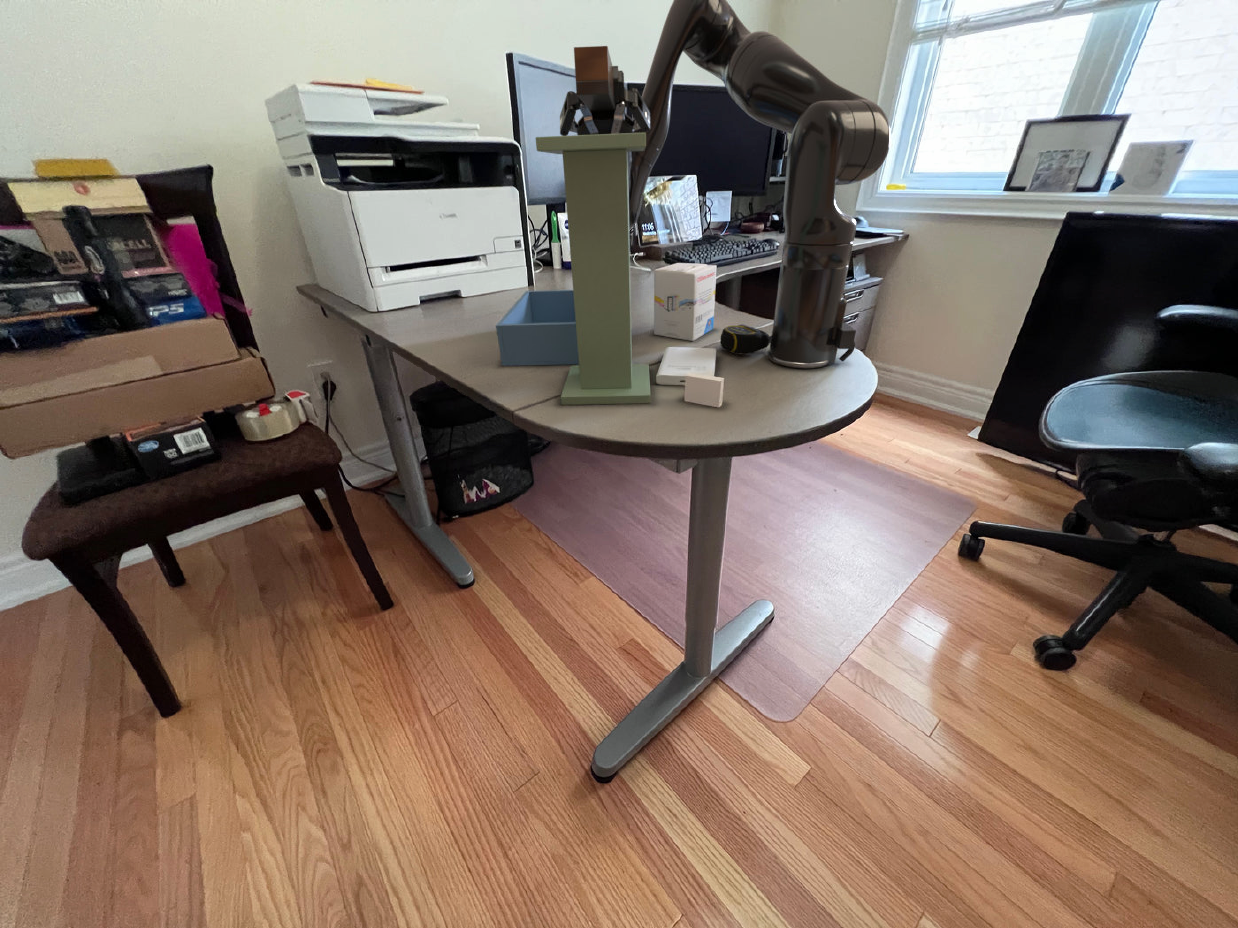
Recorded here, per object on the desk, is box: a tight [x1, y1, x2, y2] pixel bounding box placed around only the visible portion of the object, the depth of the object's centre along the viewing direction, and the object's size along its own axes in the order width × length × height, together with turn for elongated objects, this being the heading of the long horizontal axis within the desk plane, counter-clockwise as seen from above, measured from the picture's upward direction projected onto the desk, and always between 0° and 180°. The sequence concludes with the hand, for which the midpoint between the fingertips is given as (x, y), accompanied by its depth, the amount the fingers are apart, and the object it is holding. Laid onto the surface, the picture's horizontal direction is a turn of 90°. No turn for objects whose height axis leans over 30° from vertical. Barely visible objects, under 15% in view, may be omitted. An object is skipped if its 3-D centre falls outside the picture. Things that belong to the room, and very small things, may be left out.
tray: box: [495, 289, 579, 367], centre depth 88 cm, size 14×25×7 cm, turn 178°
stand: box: [535, 133, 651, 406], centre depth 63 cm, size 12×16×30 cm
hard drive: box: [655, 346, 717, 387], centre depth 75 cm, size 2×8×12 cm
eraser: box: [683, 373, 725, 409], centre depth 64 cm, size 1×5×4 cm, turn 60°
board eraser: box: [573, 45, 615, 112], centre depth 60 cm, size 4×20×4 cm, turn 178°
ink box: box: [653, 262, 717, 342], centre depth 89 cm, size 9×8×12 cm
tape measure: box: [719, 324, 770, 356], centre depth 81 cm, size 7×7×4 cm
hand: (599, 74), depth 62 cm, fingers closed on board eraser, 3 cm apart
